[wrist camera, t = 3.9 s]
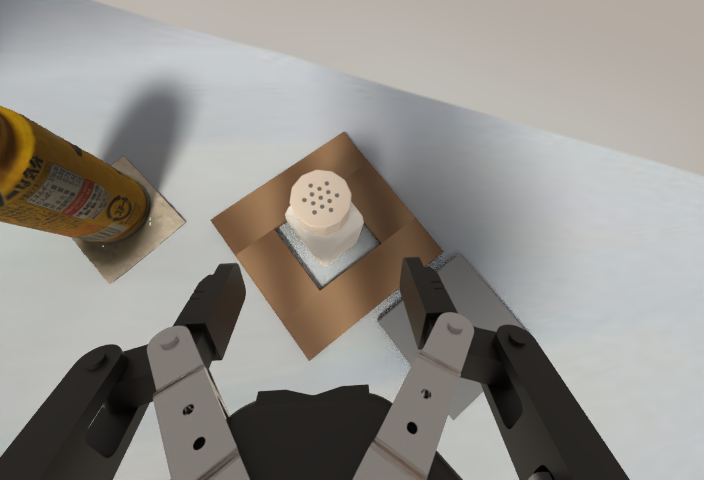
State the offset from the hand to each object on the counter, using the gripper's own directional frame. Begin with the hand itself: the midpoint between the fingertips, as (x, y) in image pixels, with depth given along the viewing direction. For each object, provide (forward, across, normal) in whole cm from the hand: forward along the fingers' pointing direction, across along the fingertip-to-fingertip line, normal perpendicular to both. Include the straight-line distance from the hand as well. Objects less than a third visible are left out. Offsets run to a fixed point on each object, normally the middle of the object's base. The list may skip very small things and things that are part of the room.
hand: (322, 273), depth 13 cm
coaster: (+3, -10, +10) cm, 14 cm away
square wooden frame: (+9, 0, +4) cm, 10 cm away
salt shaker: (+9, 0, +4) cm, 10 cm away
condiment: (+11, +18, +2) cm, 21 cm away
